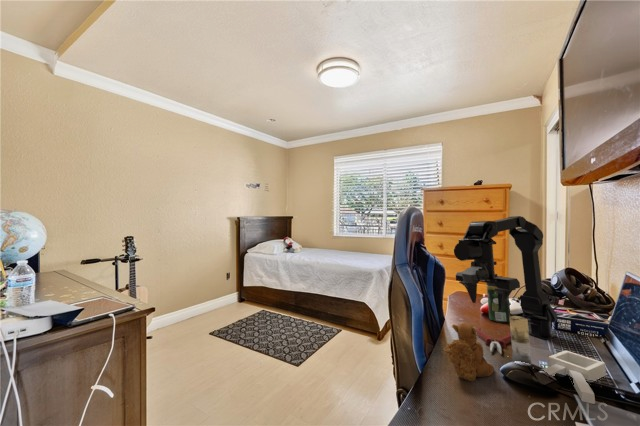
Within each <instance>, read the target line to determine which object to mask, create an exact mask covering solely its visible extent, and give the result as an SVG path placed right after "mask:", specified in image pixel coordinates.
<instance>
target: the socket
mask: <svg viewBox="0 0 640 426" xmlns="http://www.w3.org/2000/svg"><path fill="white" fill-rule="evenodd" d="M548 364H549V365H548V366H547V367H545V368H542V369H541V370H544V371H545V372H547V373H548V374H549V375H552V376H555V374H556V373H559V374H564V373H567V374H570V376H571V377H572V378H573V383H574V385H573V388H574V389H575V390H576V392H577V394H578V396H579V398H580V399H581V402H582V403H587V404H592V405H596V398H595V393H594V391H593V389H592V388H591V387H590V385H589V384H588V383H587V382H586V380H585V379H587V380H596V379H598V378H601V377H603V376H605V375H606V376H607V370H606V363H605V362H604V361H600V360H597V359H594V358H591V357H587V356H585V355H583V354H582V355H581V354H579V353H575V352H572V351H569V350H567V349H566V350H562V351H560V352H558V353H555V354H552V355H549V356H548ZM573 383H572V384H573Z"/></svg>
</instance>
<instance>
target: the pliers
mask: <svg viewBox="0 0 640 426" xmlns="http://www.w3.org/2000/svg"><path fill="white" fill-rule="evenodd" d="M476 328H477V332H478V333H477V332H476V335H477V338H480V339H481V340H482V341H484V344H485V346H489V350H490V351H489V352H490V354H492V353H494V351H495V349H496V351H498V353H499V354H500V355H502V354H503V352H502V348H503V349H506V348H507V345H508V344H510V343H512V342H511V331H508V330H507V335H505V336H502V337H500V338H497V339H494V338H492V337H491V336H489V335H487V334H486V333H485V332H483V331H482V330H481V329H482V328H481V327H476ZM478 334H479V335H478Z"/></svg>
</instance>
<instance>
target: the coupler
mask: <svg viewBox="0 0 640 426" xmlns="http://www.w3.org/2000/svg"><path fill="white" fill-rule="evenodd" d="M528 320H529V319H528V317H527V318H526V317H525V316H520V315H519V316H518V315H511V316H510V321H509V326H510V328H509V330H510V332H511V342H510V343H511V352H512V363H514V361H521V362H525V363H529V364H531V365H532V357H531V356H532V354H531V344H530V334H529V322H528Z"/></svg>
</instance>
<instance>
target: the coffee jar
mask: <svg viewBox="0 0 640 426" xmlns="http://www.w3.org/2000/svg"><path fill="white" fill-rule="evenodd" d="M497 276H498V277H496V278H502V277H503V276H501V275H497ZM489 281H490V280H489ZM496 288H497V286H496V285H495V284H491V283H486V294H487V295H486V298H487V307H488V318H489V320H491V321H494V322H496V323H510V316H512V315H511V308H510V296H509V297H508V299H507V301H506V303H505V305H504V307H503V309H502V310H499V306H498V293H497V292H496V290H495V289H496Z"/></svg>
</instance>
